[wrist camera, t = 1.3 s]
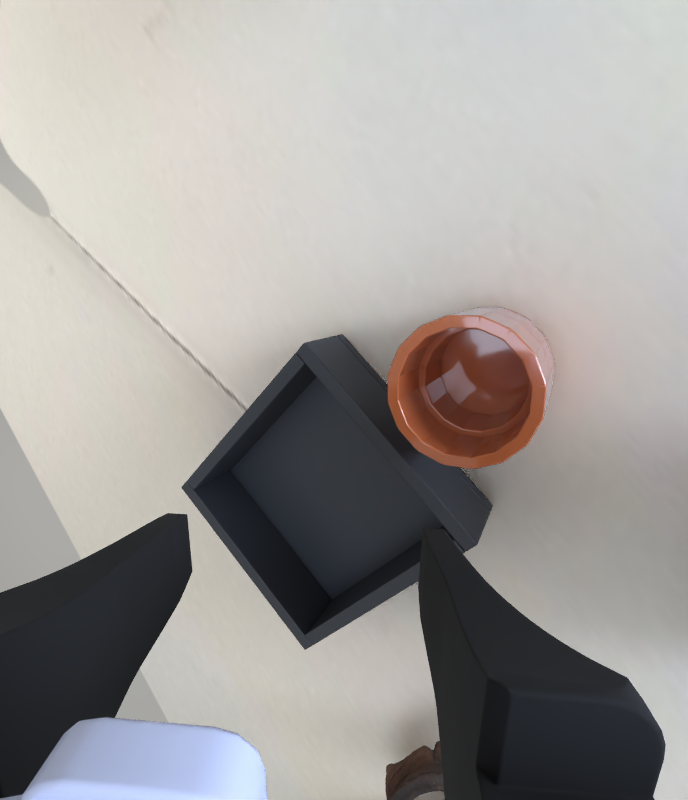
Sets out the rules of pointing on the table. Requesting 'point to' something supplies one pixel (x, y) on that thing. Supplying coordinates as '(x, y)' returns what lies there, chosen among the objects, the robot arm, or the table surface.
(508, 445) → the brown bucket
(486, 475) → the table surface
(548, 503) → the table surface
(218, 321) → the table surface
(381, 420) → the tray
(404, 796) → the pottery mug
